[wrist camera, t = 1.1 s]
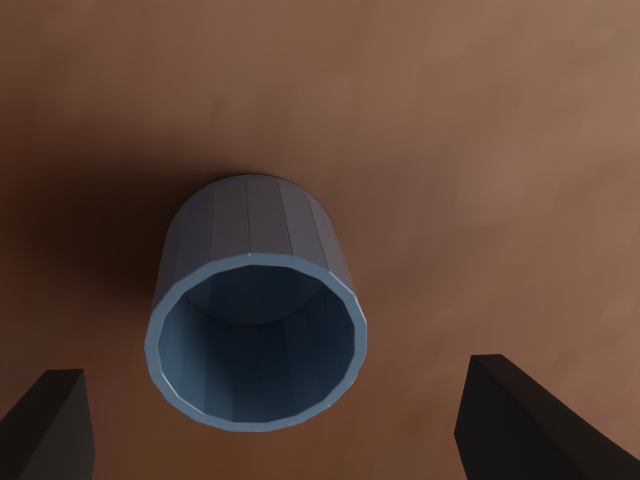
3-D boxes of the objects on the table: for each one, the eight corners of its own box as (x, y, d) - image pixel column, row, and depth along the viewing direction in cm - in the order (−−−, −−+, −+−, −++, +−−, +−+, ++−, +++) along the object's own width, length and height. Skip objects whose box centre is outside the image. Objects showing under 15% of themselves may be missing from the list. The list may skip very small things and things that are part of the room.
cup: (251, 351, 22) (257, 463, 17) (126, 253, 20) (94, 354, 15) (370, 253, 21) (410, 346, 16) (253, 136, 18) (261, 206, 14)
